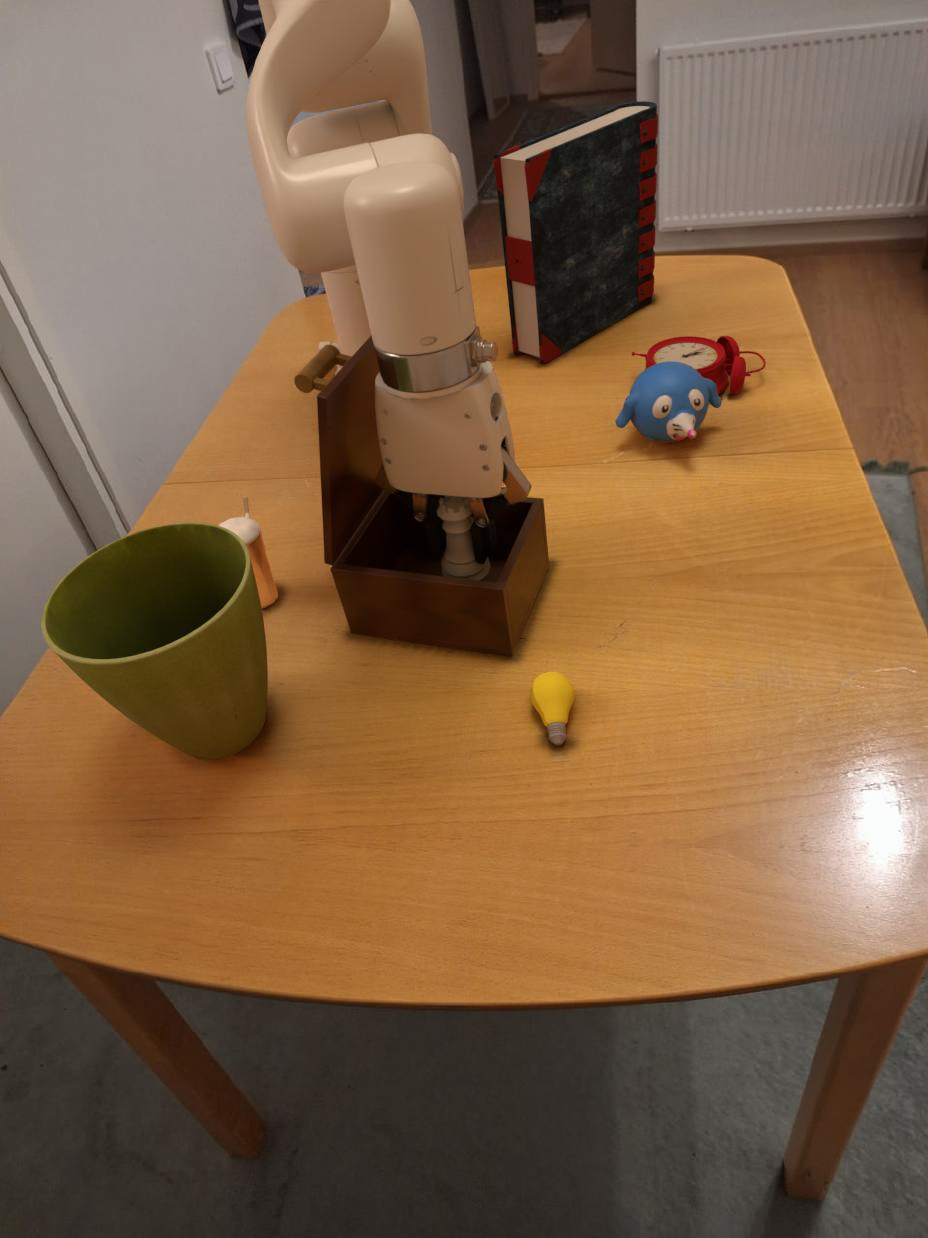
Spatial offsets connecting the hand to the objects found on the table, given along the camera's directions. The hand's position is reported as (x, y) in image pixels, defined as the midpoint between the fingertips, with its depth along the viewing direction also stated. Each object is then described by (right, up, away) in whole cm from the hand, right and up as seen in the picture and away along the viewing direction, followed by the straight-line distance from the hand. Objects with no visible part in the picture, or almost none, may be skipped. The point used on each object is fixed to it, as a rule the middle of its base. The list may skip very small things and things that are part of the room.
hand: (462, 549), depth 71 cm
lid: (-8, +8, -4) cm, 12 cm away
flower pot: (-20, -15, -3) cm, 26 cm away
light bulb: (+7, -14, -7) cm, 18 cm away
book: (+18, +36, +44) cm, 59 cm away
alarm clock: (+29, +23, +28) cm, 46 cm away
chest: (-1, -4, +5) cm, 6 cm away
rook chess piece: (0, -2, +2) cm, 3 cm away
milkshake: (-20, -4, +9) cm, 22 cm away
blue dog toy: (+23, +13, +19) cm, 33 cm away
